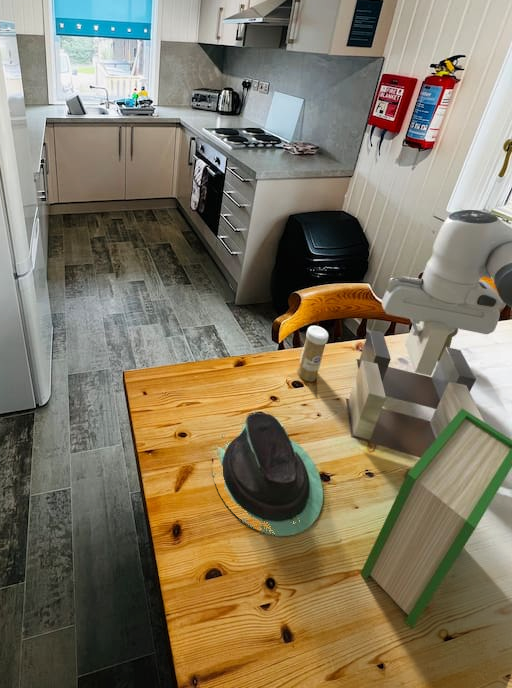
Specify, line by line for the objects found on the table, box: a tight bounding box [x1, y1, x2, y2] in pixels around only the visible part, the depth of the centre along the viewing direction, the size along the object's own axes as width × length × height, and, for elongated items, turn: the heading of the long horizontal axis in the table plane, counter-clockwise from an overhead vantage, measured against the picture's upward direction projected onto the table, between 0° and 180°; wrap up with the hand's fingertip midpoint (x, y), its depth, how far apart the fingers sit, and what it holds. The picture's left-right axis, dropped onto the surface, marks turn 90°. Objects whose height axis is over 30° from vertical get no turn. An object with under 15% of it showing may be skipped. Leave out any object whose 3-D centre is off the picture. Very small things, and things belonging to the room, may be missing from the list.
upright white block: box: [404, 321, 449, 377], centre depth 87 cm, size 3×9×12 cm, turn 162°
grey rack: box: [356, 329, 477, 410], centre depth 91 cm, size 20×10×11 cm, turn 72°
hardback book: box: [360, 409, 512, 629], centre depth 57 cm, size 18×7×24 cm, turn 125°
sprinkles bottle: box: [296, 325, 329, 383], centre depth 93 cm, size 5×5×13 cm
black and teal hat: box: [212, 411, 324, 537], centre depth 72 cm, size 15×19×20 cm
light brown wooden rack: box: [345, 360, 485, 459], centre depth 79 cm, size 20×10×13 cm, turn 72°
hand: (426, 336), depth 87 cm, fingers closed on upright white block, 3 cm apart
